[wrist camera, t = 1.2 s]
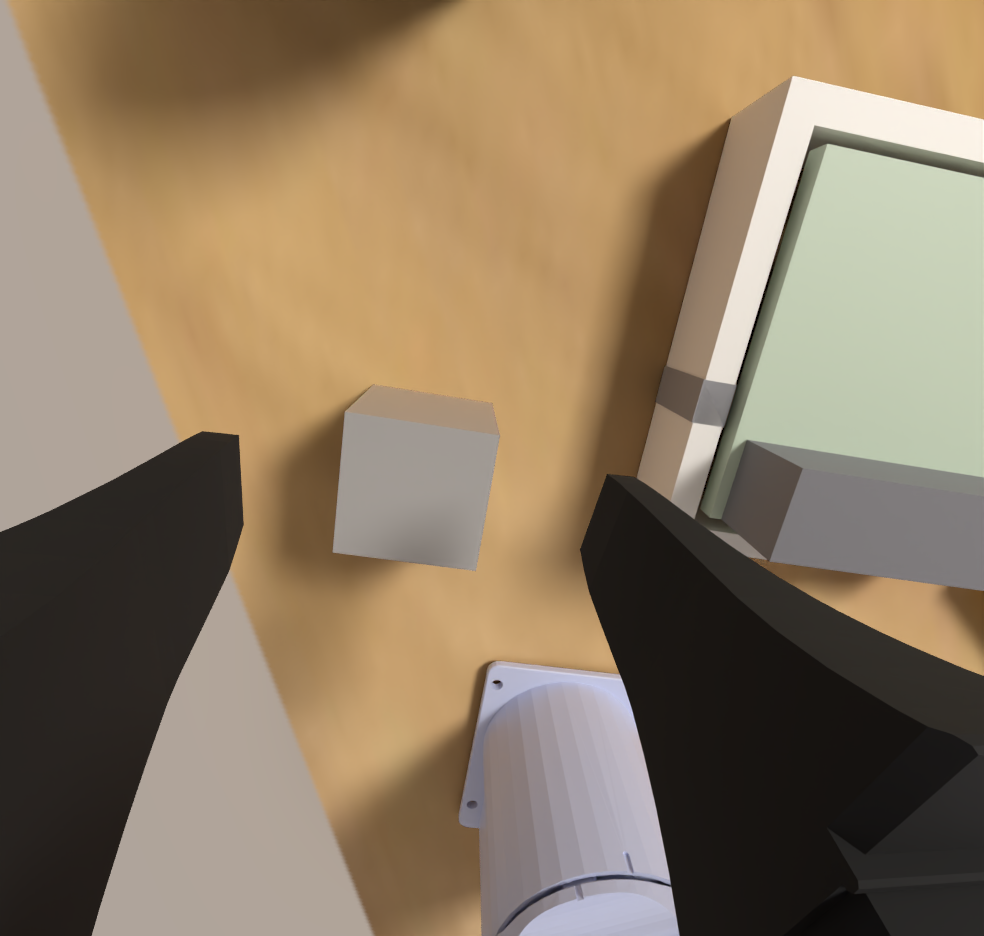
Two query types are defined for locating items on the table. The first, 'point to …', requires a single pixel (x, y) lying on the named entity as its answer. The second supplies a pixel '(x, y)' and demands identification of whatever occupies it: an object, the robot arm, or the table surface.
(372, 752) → the table surface
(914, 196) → the trapdoor
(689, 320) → the trapdoor frame
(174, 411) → the table surface
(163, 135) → the table surface
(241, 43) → the table surface
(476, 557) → the grey block
